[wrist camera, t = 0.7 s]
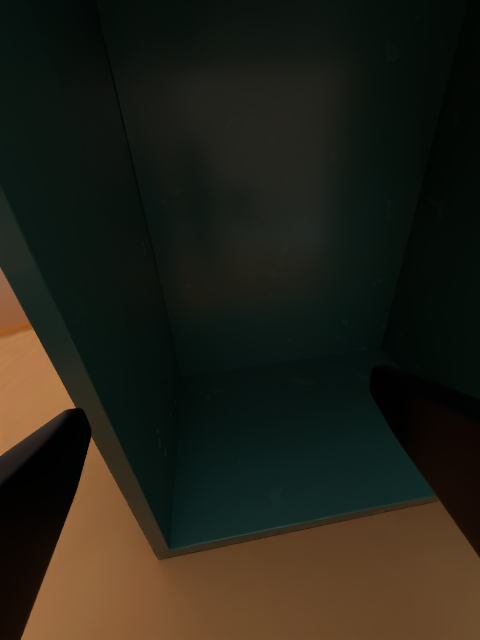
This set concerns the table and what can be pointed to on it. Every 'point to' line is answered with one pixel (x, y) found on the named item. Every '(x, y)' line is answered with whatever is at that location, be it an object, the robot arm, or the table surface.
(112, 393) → the teal storage box
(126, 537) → the table surface
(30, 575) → the robot arm
